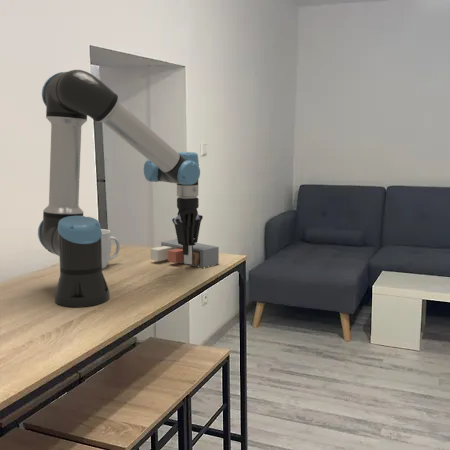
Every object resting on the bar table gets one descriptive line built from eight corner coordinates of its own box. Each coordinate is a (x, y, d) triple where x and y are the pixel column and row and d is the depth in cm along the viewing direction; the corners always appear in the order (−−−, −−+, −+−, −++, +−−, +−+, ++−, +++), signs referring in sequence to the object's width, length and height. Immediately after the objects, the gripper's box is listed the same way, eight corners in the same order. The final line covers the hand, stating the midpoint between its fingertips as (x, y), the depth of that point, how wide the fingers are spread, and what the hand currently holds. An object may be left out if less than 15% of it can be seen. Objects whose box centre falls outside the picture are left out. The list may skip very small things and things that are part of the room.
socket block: (203, 268, 196) (203, 250, 195) (161, 258, 211) (161, 241, 209) (218, 264, 202) (218, 246, 201) (176, 255, 216) (176, 238, 215)
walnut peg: (195, 264, 196) (195, 253, 195) (187, 263, 198) (187, 252, 198) (212, 260, 202) (212, 249, 202) (204, 258, 205) (204, 248, 204)
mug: (112, 261, 206) (111, 226, 204) (127, 266, 198) (126, 230, 196) (74, 267, 197) (73, 230, 195) (88, 273, 189) (87, 235, 186)
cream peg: (158, 261, 201) (158, 250, 201) (150, 259, 204) (150, 248, 203) (176, 256, 208) (176, 246, 207) (168, 255, 210) (168, 245, 210)
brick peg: (175, 263, 198) (175, 252, 198) (168, 261, 201) (168, 250, 200) (193, 258, 205) (193, 248, 204) (185, 257, 208) (185, 246, 207)
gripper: (181, 199, 185) (182, 268, 188) (208, 196, 194) (208, 262, 198) (166, 197, 190) (167, 264, 193) (192, 194, 199) (193, 258, 203)
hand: (188, 263), depth 196 cm, fingers closed
